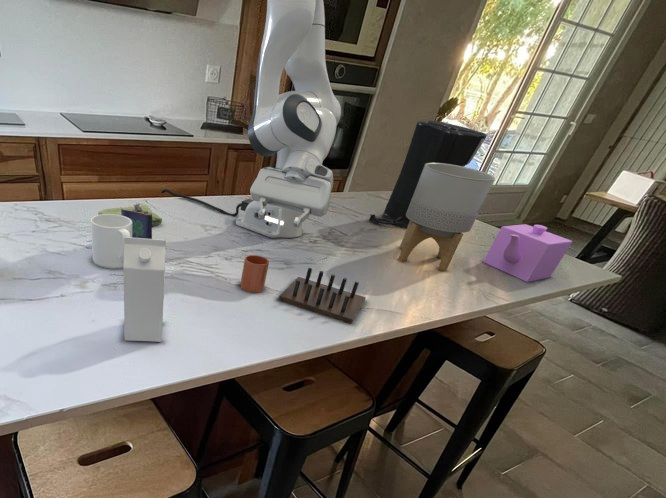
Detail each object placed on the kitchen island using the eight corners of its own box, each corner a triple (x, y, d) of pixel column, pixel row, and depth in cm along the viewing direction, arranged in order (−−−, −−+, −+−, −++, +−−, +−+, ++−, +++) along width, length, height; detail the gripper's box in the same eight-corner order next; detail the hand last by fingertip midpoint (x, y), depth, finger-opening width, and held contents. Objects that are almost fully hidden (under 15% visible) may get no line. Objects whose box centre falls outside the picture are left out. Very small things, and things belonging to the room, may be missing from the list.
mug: (85, 257, 112) (83, 216, 106) (119, 250, 117) (119, 212, 111) (110, 275, 105) (108, 233, 99) (145, 268, 110) (145, 228, 104)
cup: (236, 287, 107) (240, 260, 103) (246, 280, 111) (250, 253, 107) (258, 295, 105) (263, 267, 101) (267, 286, 110) (272, 259, 105)
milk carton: (126, 322, 89) (125, 230, 77) (161, 323, 90) (165, 233, 78) (124, 341, 83) (122, 245, 72) (161, 342, 84) (165, 247, 73)
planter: (379, 248, 141) (411, 162, 125) (421, 245, 148) (456, 163, 132) (421, 273, 128) (463, 179, 112) (465, 268, 135) (510, 180, 119)
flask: (119, 240, 123) (119, 201, 116) (124, 237, 125) (124, 199, 119) (149, 248, 121) (150, 208, 115) (153, 244, 124) (155, 206, 117)
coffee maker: (453, 226, 173) (497, 130, 152) (420, 240, 153) (465, 132, 133) (401, 209, 184) (435, 118, 164) (363, 220, 165) (397, 118, 144)
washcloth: (96, 216, 137) (95, 206, 135) (147, 213, 145) (148, 203, 143) (110, 231, 128) (109, 220, 126) (164, 227, 136) (164, 216, 134)
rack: (278, 299, 104) (283, 280, 101) (297, 280, 115) (302, 262, 111) (351, 324, 99) (358, 303, 96) (364, 301, 109) (371, 282, 106)
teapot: (469, 263, 139) (491, 219, 131) (514, 257, 150) (538, 216, 141) (513, 284, 129) (540, 238, 121) (558, 275, 140) (586, 232, 131)
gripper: (260, 156, 109) (238, 204, 108) (338, 172, 103) (316, 223, 102) (264, 173, 115) (243, 218, 114) (338, 189, 109) (317, 238, 107)
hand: (278, 221), depth 108 cm, fingers open, 8 cm apart
